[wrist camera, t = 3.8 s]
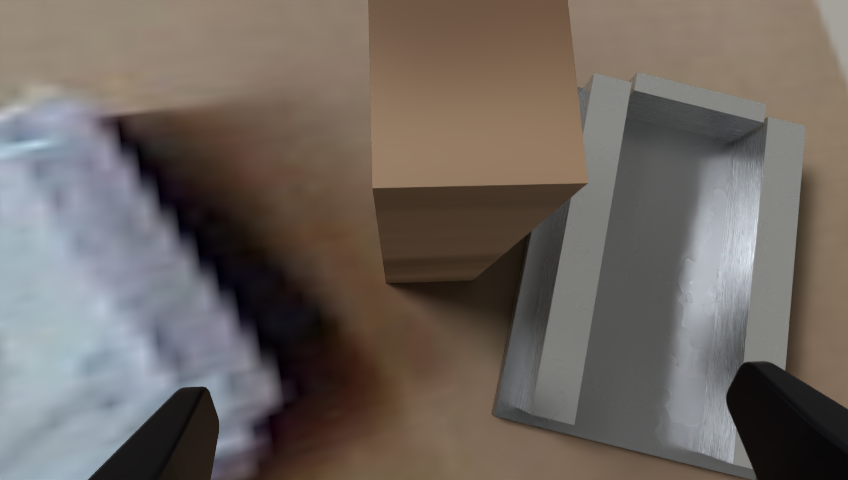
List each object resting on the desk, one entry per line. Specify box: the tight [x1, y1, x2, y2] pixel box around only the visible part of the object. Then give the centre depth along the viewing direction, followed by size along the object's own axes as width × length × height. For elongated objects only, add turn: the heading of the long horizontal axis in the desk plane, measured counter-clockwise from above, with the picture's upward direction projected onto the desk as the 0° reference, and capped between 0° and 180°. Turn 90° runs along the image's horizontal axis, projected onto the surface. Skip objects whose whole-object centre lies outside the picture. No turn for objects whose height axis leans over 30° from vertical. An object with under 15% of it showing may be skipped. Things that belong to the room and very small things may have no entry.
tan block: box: [368, 0, 588, 283], centre depth 15 cm, size 6×4×12 cm, turn 2°
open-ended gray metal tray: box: [492, 72, 806, 480], centre depth 20 cm, size 14×10×3 cm
